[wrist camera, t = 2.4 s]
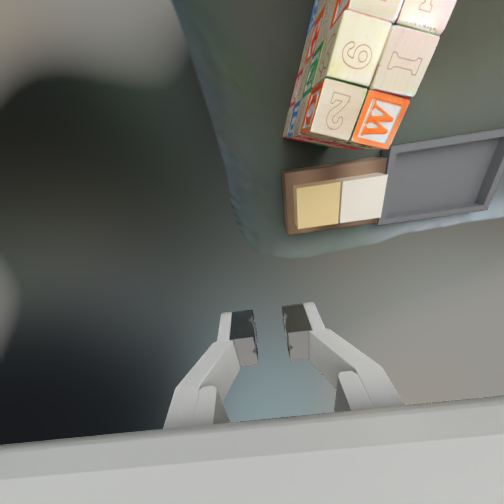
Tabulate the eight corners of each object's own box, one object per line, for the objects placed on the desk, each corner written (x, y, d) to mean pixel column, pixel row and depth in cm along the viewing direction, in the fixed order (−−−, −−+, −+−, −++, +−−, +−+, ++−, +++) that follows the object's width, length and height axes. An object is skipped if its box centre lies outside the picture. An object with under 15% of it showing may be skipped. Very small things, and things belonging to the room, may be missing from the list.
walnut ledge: (372, 156, 26) (387, 157, 23) (365, 215, 30) (376, 222, 27) (280, 171, 26) (284, 173, 24) (284, 227, 30) (288, 234, 27)
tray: (505, 127, 25) (523, 126, 23) (474, 206, 29) (487, 209, 28) (381, 146, 25) (391, 146, 24) (371, 221, 30) (378, 225, 28)
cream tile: (377, 172, 24) (388, 174, 22) (371, 212, 26) (380, 217, 24) (335, 178, 24) (342, 181, 22) (333, 218, 26) (339, 223, 25)
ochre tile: (333, 179, 24) (340, 181, 22) (332, 218, 26) (338, 223, 25) (292, 185, 24) (296, 188, 23) (294, 223, 27) (298, 229, 25)
